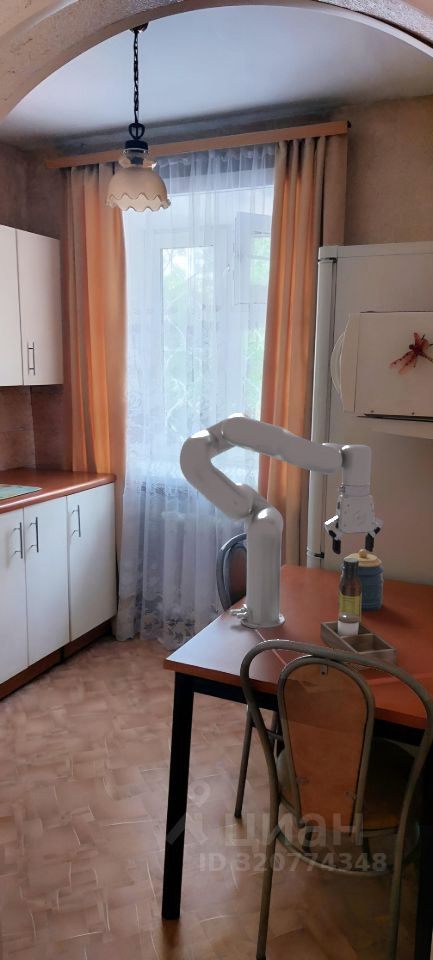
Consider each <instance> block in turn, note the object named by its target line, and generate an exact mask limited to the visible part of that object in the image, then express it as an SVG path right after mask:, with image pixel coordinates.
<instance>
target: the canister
mask: <svg viewBox="0 0 433 960" xmlns="http://www.w3.org/2000/svg"><path fill="white" fill-rule="evenodd" d="M345 558H355V559H358V560H359V564H358V575H357V576H358V578H359V579H360V581H361V585H362V587H361V592H362V598H361V613H362V612H371V611H372V612H373V611H378V610H380V609H381V608H382V605H383V600H384V599H383V589H384V588H383V587H384V586H383V585H384V582H385V581H384V578H383V573H384V572H385V569H384V567H383V566H382V560H381V559H379V558H378V557H377V555H375V554H371V553H368V551H367V550H366V549H365V548H362V549H359V551H358V553H357V552H356V553H350V554H349V555H348V556H345V557H344V558H343V560H344V559H345ZM340 569H341V571H342V572H341V575H340V577H339V578H340V581H341V580H342V577H343V575H344V563H342V564H341V565H340Z"/></svg>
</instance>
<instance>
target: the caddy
mask: <svg viewBox="0 0 433 960" xmlns="http://www.w3.org/2000/svg"><path fill="white" fill-rule="evenodd" d="M319 635H320V639H321V640H323V641H324V642H325V643H326V644H327V645H328V646H329V647H330V648H335V649H340V650H344V651H349V652H353V653H358V654H363V655H367V656H371V657H375V658H379V659H382V660H386V661H388V662H391V663H393V664H395V665H396V666H397V654H398V649H397V648H396V647H394V646H393V645H391V644H390V643H389V642H388V641H386V640H385V639H384V638H382V637H381V636H379V635H378V634H377V633H376V632H374V630H372V629H370V628H369V627H368V626H367V625H365V624H364V623H363V622H362V621H361V622H360V621H359V626H358V635H351V636H341V637H340V636H339V635H338V620H334V621H326V622H320V634H319ZM350 666H351V667H352V666H353V667H354V668H355V669H356V670H355V669H354V668H353V667H352V668H353V669H354V670H355V671H360V670H361V671H363V670H371V669H370V668H366V667H362V666H359V665H355V664H352V665H350Z"/></svg>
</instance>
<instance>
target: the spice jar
mask: <svg viewBox="0 0 433 960" xmlns="http://www.w3.org/2000/svg"><path fill="white" fill-rule="evenodd" d="M337 621H338V635H339V636H340V637H341V636H351V635H358V626H359V615H357V614H355V613H351V612H342V613H339V614H338V613H337Z"/></svg>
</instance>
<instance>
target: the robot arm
mask: <svg viewBox="0 0 433 960" xmlns="http://www.w3.org/2000/svg"><path fill="white" fill-rule="evenodd" d="M235 447H237V448H241V449H244V450H248V451H251V452H254V453H257V454H261V455H263V456H267V457H269V458H270V457H271V458H274V459H276V460H278V461H281V462H284V463H288V464H290V465H293V466H295V467H298V468H302V469H305V470H308V471H311V472H315V473H317V474H322V475H332V474H335V473H337V472H338V471H340V469H341V483H340V486H338V487H337V488H336V491H337V493H340V494H339V495H338V497H337V502H336V509H335V515H334V517H333V518H331V519H329V520H328V521H326V522H324V524H323V526H324V528H325V530H326V533H327V534H328V536H330V537H331V539H332V543H331V544H332V546H331V547H332V548H331V549H332V552H333V553H334V554H336V555H341V552H342V550H341V549H342V541H341V539H340V538H342V536H343V535H344V534H345V535H347V534H348V535H350V534H351V535H352V534H364V533H366V535H365V542H364V543H365V544H364V549H365V550H366V551H367V552H369V553H373V552H374V551H373V549H374V547H375V539H376V537H377V535H378V534H379V532H380V531H381V528H382V527H383V524H384V520H383V519H381V518H379V517H377V516H375V504H374V498H373V495H370V491H371V490H370V488H371V469H372V449H371V447H370V446H368V445H365V444H348V445H347V444H340V443H334V442H324V443H319V442H316V441H312V440H309V439H306V438H304V437H301V436H299V435H296V434H294V433H292V432H291V431H290V430H288V429H286V428H284V427H282V426H279V425H275V424H271V423H268V422H265V421H261V420H258V419H254V418H251V417H250V416H249V415H248V414H245V413H241V412H238V413H234V414H231V415H229V416H227V417H226V418H225V419H222V420H220V421H219V422H217V423H215V424H213V425H211V426H209V427H206V428H205V429H202V430H200V431H198V432H196V433H194V434H192V435H190V436H189V437H188V438H187V439H185V441H184V442H183V445H182V447H181V449H180V453H179V466H180V467H179V468H180V470H181V474H183V477H184V478H185V480H186V481H187V482H188V483H189V484H190V485H191V486H192V487H193V489H195V490H196V491H197V492H198V493H199V494H201V496H203V498H205V499H206V500H207V501H208V502H209V503H210V504H211V505H212V506H214V507H215V508H216V509H217V510H218V511H219V513H221V514H222V515H224V517H226V518H227V520H228V519H229V520H231V521H234V522H237V521H238V522H239V521H242V523H244V524H245V525H246V526H247V529H246V594H245V595H246V601H245V604H244V603H243V604H242V607H240V608H239V609H237V608H236V609H230V610H229V613H228V614H229V616H230V617H231V618H232V617H236V619H240V623H241V624H242V625H244V626H245V627H248V628H250V629H255V630H257V628H259V629H261V628H263V629H266V628H275V627H279V626H282V625H283V624H285V619H286V618H285V616H283V614H281V613H280V610H281V609H280V607H281V605H280V603H281V576H282V575H281V574H282V572H281V571H282V569H281V568H282V534H283V530H284V519H283V516H282V514H281V513H280V511H279V510H278V509H277V508H276V507H275V506H273V504H271V503H270V502H269V501H268V500H267V499H266V498H265V497H263V496H262V495H261V494H260V493H258V491H256V490H255V489H254V488H253V487H252V486H250V485H248V484H246V483H243V482H235V481H232V480H231V478H229V477H228V476H227V475H226V474H225V473H224V472H223V471H221V470H220V469H219V468H217V467H216V466H214V465H213V463H212V459H213V458H215V457H216V456H219V455H221V454H223V453H225V452H227V451H229V450H232V449H233V448H235ZM333 526H334V528H335V529H334V530H333V529H332V527H333Z"/></svg>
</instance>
